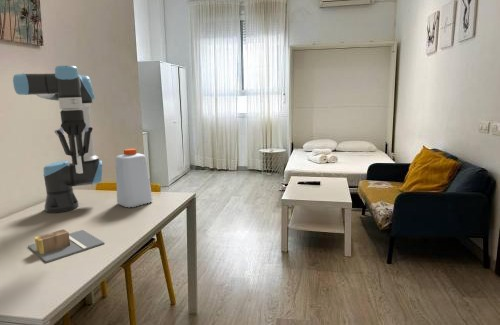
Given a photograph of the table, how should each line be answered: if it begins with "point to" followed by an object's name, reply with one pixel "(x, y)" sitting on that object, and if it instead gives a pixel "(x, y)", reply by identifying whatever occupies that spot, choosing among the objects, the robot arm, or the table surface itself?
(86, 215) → the table surface
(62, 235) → the block
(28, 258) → the table surface
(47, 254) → the mat
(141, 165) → the plastic bottle
